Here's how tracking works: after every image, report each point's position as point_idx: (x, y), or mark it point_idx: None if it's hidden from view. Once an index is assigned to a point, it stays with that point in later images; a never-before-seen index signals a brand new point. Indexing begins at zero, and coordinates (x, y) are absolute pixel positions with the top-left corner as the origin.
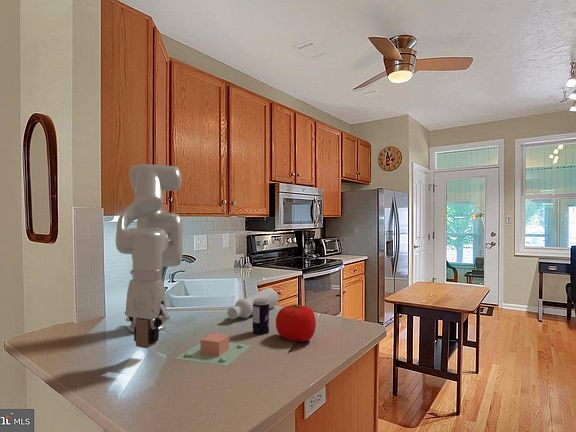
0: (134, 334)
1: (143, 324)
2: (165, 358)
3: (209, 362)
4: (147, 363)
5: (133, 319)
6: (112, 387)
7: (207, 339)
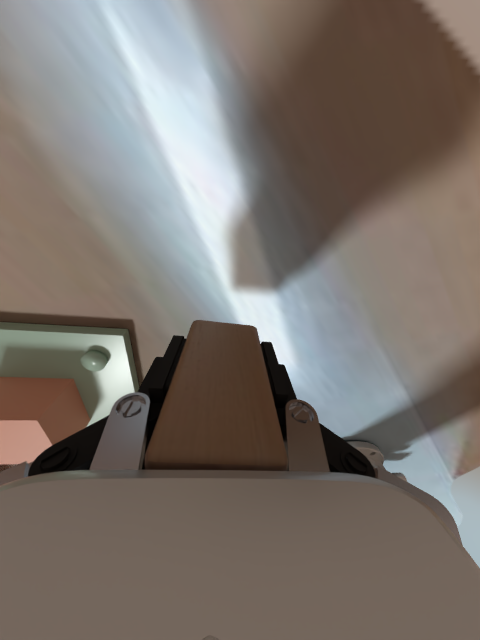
0: (276, 361)
1: (198, 414)
2: None
3: None
4: (206, 302)
5: (320, 452)
6: (180, 27)
7: (14, 427)
